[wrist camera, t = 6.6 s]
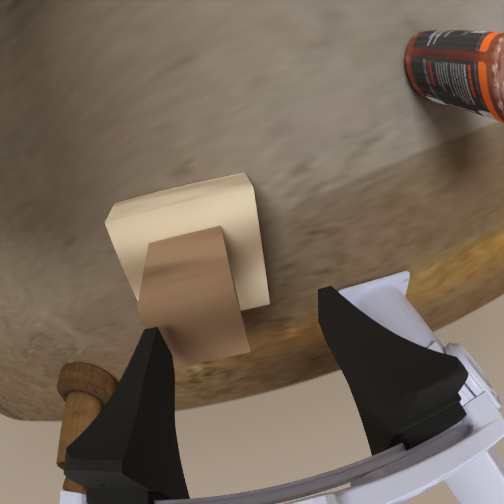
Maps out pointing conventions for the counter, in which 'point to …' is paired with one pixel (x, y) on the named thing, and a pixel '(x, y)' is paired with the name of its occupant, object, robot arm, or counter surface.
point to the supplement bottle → (459, 69)
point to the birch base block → (195, 229)
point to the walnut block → (193, 297)
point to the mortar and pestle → (80, 405)
